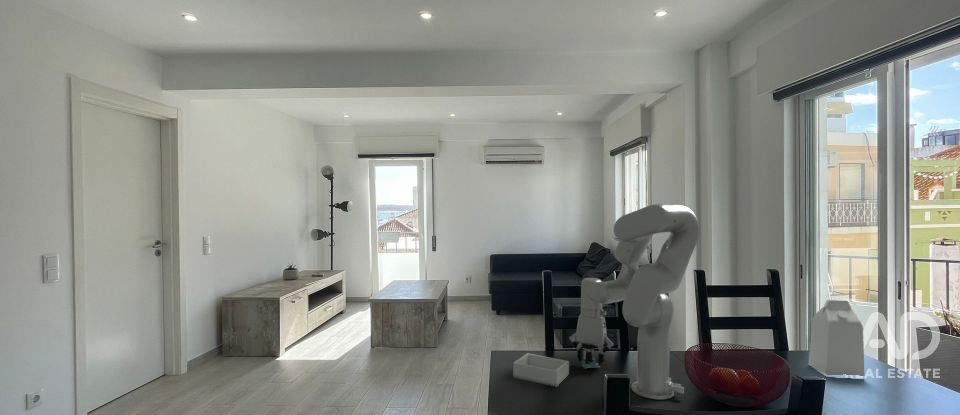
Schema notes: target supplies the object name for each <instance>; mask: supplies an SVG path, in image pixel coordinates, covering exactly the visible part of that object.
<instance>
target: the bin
mask: <svg viewBox="0 0 960 415" xmlns="http://www.w3.org/2000/svg"><path fill="white" fill-rule="evenodd" d="M512 366H513V367H512V369H513V370H512V371H513V372H512V374H513V375H512V378H514V379H519V380H523V381H528V382H532V383H537V384H540V385H545V386H549V385H550V387H554V386H555V387H554V388H558V387H559V384H560V383H561V382H562V381H563V380H564V379H565V378H566V377H567V376H568V375H570V361H569V360H565V359H560V358H555V357H549V356H544V355H539V354H534V353H529V352H528V353H525V354H524V355H522V356H521V357H520V358H518V359H517V360H515V361H514V362H513V364H512ZM568 377H569V376H568ZM568 377H567V378H568ZM567 378H566V379H567ZM566 379H565V380H566ZM565 380H564V381H565ZM564 381H563V382H564ZM561 384H562V383H561ZM561 384H560V385H561Z"/></svg>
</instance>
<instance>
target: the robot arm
mask: <svg viewBox="0 0 960 415" xmlns="http://www.w3.org/2000/svg"><path fill="white" fill-rule="evenodd" d="M613 225H614V226H613V234H614V236H615V239H616V240H618V244H617V245H616V248H615V250H614V251H613V256H614V258H615V259H616V261H618V262H619V263H621V269H620V272H619V273H618V275H617V278H615V279H613V280H605V281H602V279H600V278H597V277H585V278H582V280H581V284H580V314H579V315H578V319H577V324H576V332H574V333H573V334H572V335H571V336H569V337H568V338H569V340H570V342H571V343H572V344H573V346H574V347H575V348H576V350H577V352H576V353H577V359H578V362H582V359H583V358H584V348H583V347H582V343H584V344H587V343H588V344H590V345H594V346H596V347H597V348H598V351H599V353H598V357H597V358H598V359H597V360H598V361H597V364H598V365H597V366H601V365H602V364H603V363H604V362H605V353H606V352H608V350H610V349H611V348H612V347H613V346H614V342H612V340H610V338H609V337H608V336H607V335H608V334H607V325H606V318H605V316H606V315H607V311H606V310H604V309H603V305H608V304H612V303H617V302H622V301H623V303H622V308H621V310H622V315H623V319H624V320H625V321H626V323H628V324H629V325H630V326H632V327H636V328H638V332H637V345H636V346H637V348H636V349H637V353H636V354H637V358H636V361H637V362H636V381H634V382H633V383H632V384H631V390H632V392H633V393H634V394H636V395H638V396H640V397H643V398H647V399H652V400H668V399H671V398H673V397H674V395H675V392H676V393H680V394H685V387H684V386H682V385H681V384H680V383H674V382H673V381H672V378H671V377H670V345H671V327H672V322H673V318H674V304H673V301H672V300H671V298H670V297H669V296H668V295H667V294H669V293H673V292H675V291H676V290H678V288H679V287H680V285H681V283H682V280H683V277H684V275H685V272H686V271H687V267H688V266H689V263H690V259H691V258H692V256H693V252H694V251H695V248H696V247H697V243H698V241H699V238H700V234H701V229H700V228H701V226H700V222H699V219H698V216H697V215H696V214H695V213H694V211H693V210H692V209H691V208H689V207H688V206H685V205H682V204H677V203H661V204H660V203H659V204H658V203H657V204H651V205H648V206H647V205H646V206H645V207H642V208H639V209H637V210H633V211H631V212H629V213H626V214H624V215H622V216H619V218H618V219H617V220H616V221H615V222H614V224H613ZM659 233H660V234H661V233H670V234H669V236H668V238H667V239H666V240H665V241H664V243H663V244H662V246H661V248H660V252H659V254H658V257H657V258H656V260H655V262H651V263H646V264H644V265H643V264H642V265H641V266H639V263H640V261H641V259H642V258H643V255H644V253H645V251H646V249H647V247H648V245H649V243H650V241H651V239H652V237H653V236H654V235H655V234H659ZM604 344H607V345H605V346H604Z"/></svg>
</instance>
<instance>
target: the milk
mask: <svg viewBox="0 0 960 415" xmlns="http://www.w3.org/2000/svg"><path fill="white" fill-rule="evenodd" d="M812 318H813V319H812V325H811V333H810V334H811V336H810V337H811V338H810V347H809V356H808V357H809V358H808V365H810V366H812V367H814V368H816V369H817V370H819V371H821V372H823V373H825V374H827V375H843V374H846V375H860V376H866V375H865V373H866V372H865V351H864V350H865V349H864V348H865V347H864V346H865V345H864V327H863V324H862V322H861V320H860V319H859V317H858V316H857V314H856V313H855V312H854V310H853V309H852V306H851V305H850V302H849V301H848V300H847V299H828V298H827V299H826V301H825V303H824V306H823V307H822V308H821V309H819V311H817V312H816V313H815V314H814V315H813V317H812Z"/></svg>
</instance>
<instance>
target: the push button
mask: <svg viewBox="0 0 960 415" xmlns="http://www.w3.org/2000/svg"><path fill="white" fill-rule="evenodd" d="M596 347H597V346H594V345H590V344H588V343H587V344H584V343H582V348H583V359H582V360H581V368H582V367H584V368H583V369H587V368H595V369H596V368H601V365H598V362H597V363H596V360H595V349H596Z"/></svg>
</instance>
